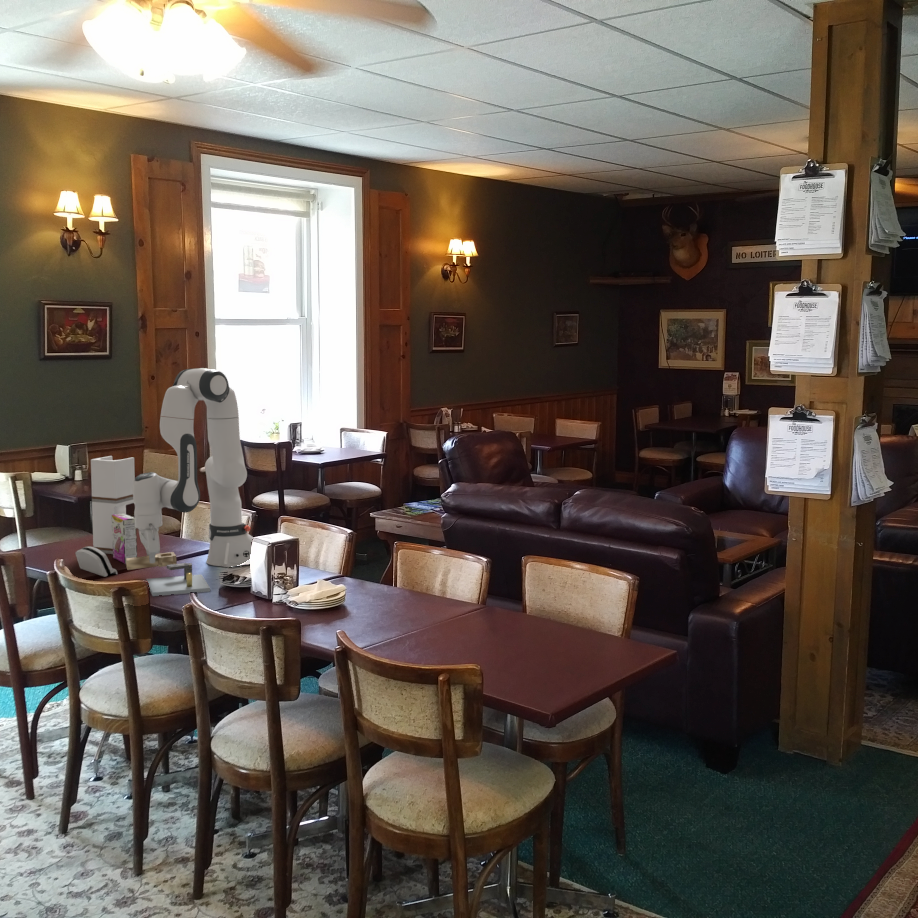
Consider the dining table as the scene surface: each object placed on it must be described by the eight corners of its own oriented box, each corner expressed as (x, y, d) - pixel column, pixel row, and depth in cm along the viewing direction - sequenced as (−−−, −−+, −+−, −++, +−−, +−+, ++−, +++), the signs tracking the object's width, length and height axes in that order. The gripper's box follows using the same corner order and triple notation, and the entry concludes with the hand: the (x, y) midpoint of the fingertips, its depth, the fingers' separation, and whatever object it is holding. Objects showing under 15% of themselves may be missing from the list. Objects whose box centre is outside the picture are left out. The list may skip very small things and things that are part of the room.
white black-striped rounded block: (118, 574, 340) (108, 548, 336) (106, 581, 337) (96, 555, 333) (93, 565, 351) (83, 541, 347) (81, 572, 348) (71, 547, 344)
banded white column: (117, 554, 368) (115, 461, 363) (93, 552, 371) (90, 459, 367) (136, 548, 379) (134, 457, 374) (112, 545, 382) (110, 455, 377)
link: (173, 560, 342) (173, 551, 342) (176, 564, 337) (176, 555, 336) (126, 566, 336) (125, 557, 335) (128, 570, 330) (127, 561, 330)
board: (201, 578, 337) (201, 574, 337) (210, 591, 321) (210, 587, 321) (146, 582, 330) (146, 578, 330) (152, 596, 314) (152, 592, 314)
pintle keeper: (191, 579, 335) (191, 562, 334) (197, 589, 322) (197, 571, 322) (166, 581, 331) (166, 564, 330) (171, 592, 319) (171, 573, 318)
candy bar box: (111, 558, 362) (110, 514, 360) (125, 556, 365) (124, 512, 363) (124, 564, 354) (123, 519, 352) (137, 562, 357) (136, 517, 355)
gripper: (163, 526, 326) (165, 567, 328) (153, 514, 344) (156, 553, 346) (143, 528, 323) (146, 569, 325) (134, 516, 342) (137, 555, 344)
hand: (151, 561), depth 336 cm, fingers closed on link, 3 cm apart
